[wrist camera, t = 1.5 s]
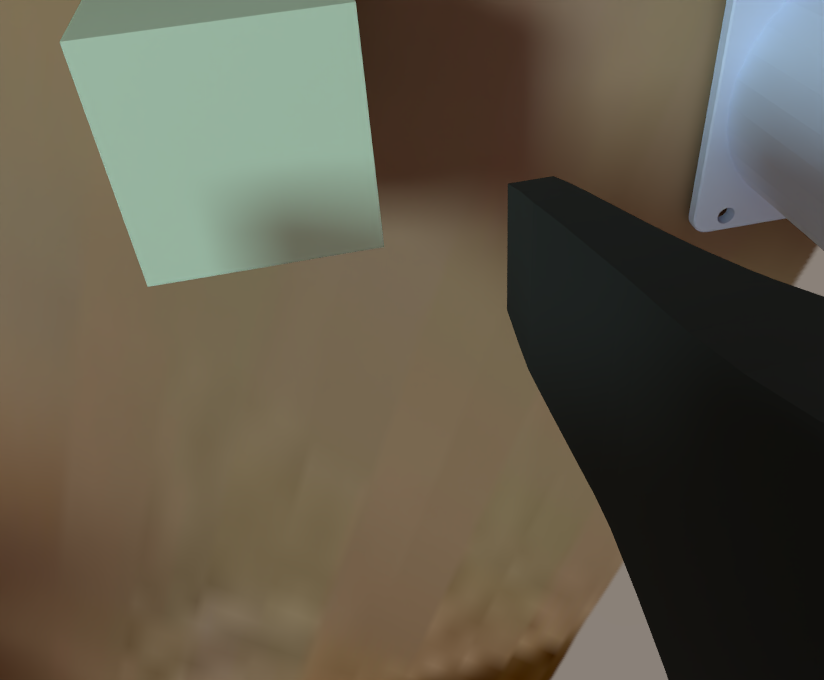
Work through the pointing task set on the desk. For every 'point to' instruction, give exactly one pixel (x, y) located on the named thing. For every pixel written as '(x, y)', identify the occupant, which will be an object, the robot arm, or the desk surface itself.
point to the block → (229, 129)
